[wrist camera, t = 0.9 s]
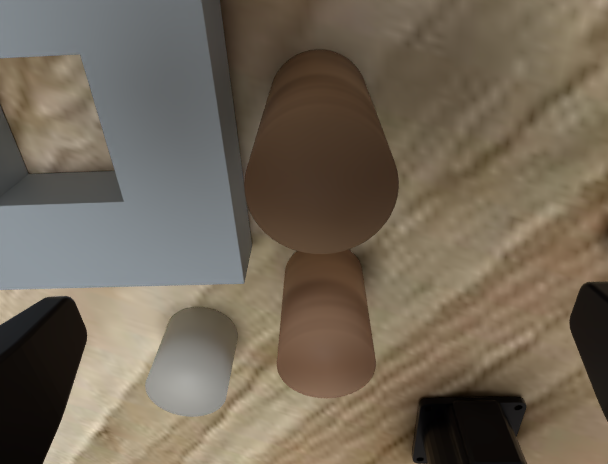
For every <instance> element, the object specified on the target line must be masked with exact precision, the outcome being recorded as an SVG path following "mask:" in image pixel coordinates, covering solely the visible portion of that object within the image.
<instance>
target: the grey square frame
mask: <svg viewBox="0 0 608 464" xmlns="http://www.w3.org/2000/svg"><path fill="white" fill-rule="evenodd" d="M77 54H80V56H81V59H82V62H83V66H84V69H85V72H86V76H87V79H88V82H89V86H90V89H91V93H92V96H93V99H94V103H95V106H96V109H97V113H98V116H99V119H100V123H101V126H102V130H103V133H104V136H105V140H106V143H107V146H108V150H109V153H110V156H111V160H112V163H113V166H114V170H115V171H99V172H71V173H44V174H28V172H27V169H26V167H25V164H24V162H23V159H22V157H21V155H20V152H19V150H18V147H17V145H16V142H15V140H14V138H13V135H12V133H11V130H10V128H9V125H8V123H7V121H6V118H5V116H4V113H3V111H2V108H1V106H0V290H12V289H51V288H90V287H129V286H168V285H207V284H244V282H245V277H246V272H247V268H248V263H249V258H250V253H251V248H252V241H251V233H250V226H249V218H248V210H247V203H246V197H245V189H244V180H243V173H242V165H241V157H240V150H239V142H238V135H237V127H236V119H235V112H234V104H233V97H232V89H231V81H230V74H229V66H228V59H227V51H226V44H225V36H224V28H223V21H222V13H221V6H220V0H0V58H13V57H34V56H56V55H77Z"/></svg>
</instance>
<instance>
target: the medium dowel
mask: <svg viewBox="0 0 608 464" xmlns="http://www.w3.org/2000/svg"><path fill="white" fill-rule="evenodd" d="M375 368H376V360H375V353H374V346H373V339H372V333H371V326H370V319H369V313H368V306H367V299H366V292H365V286H364V279H363V272H362V267H361V264H360V262H359V260H358V258H357V257H356V256H355V255H354V254H353V253H352V252H351V251H350V250H345V251H341V252H336V253H329V254H312V253H304V252H300V251H297V252H296V253H294V254H293V256H292V257H291V258H290V259H289V261H288V263H287V265H286V269H285V278H284V289H283V300H282V312H281V323H280V334H279V346H278V357H277V369H278V373H279V375H280V377H281V378H282V380H283V381H284V382H285V383H286V384H287V385H288V386H289V387H290V388H292V389H293V390H295V391H297V392H299V393H302V394H304V395H307V396H312V397H318V398H335V397H341V396H345V395H348V394H351V393H353V392H355V391H357V390H359V389H361V388H362V387H363V386H365V385H366V384H367V383H368V382H369V381H370V379H371V378H372V376H373V374H374V372H375Z"/></svg>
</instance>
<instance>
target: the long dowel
mask: <svg viewBox="0 0 608 464" xmlns="http://www.w3.org/2000/svg"><path fill="white" fill-rule="evenodd" d="M244 189H245V197H246V202H247V205H248V208H249V211H250V213H251V215H252V216H253V218H254V220H255V221H256V223H257V224H258V226H259V227H260V228H261V229H262V230H263V231H264V232H265V233H266V234H267V235H268V236H270V237H271V238H272V239H274V240H275V241H277V242H278V243H280V244H282V245H284V246H286V247H288V248H291V249H293V250H296V251H300V252H304V253H312V254H329V253H336V252H341V251H345V250H348V249H351V248H353V247H356V246H358V245H360V244H361V243H363V242H365V241H367V240H368V239H369V238H371V237H372V236H373V235H375V234H376V233H377V232H378V231H379V230H380V229H381V228H382V226H383V225H384V224H385V223H386V221H387V220H388V218H389V217H390V215H391V213H392V211H393V209H394V207H395V203H396V200H397V196H398V189H399V180H398V173H397V168H396V165H395V162H394V159H393V156H392V154H391V151H390V148H389V146H388V143H387V140H386V138H385V135H384V132H383V130H382V127H381V124H380V122H379V119H378V116H377V113H376V111H375V108H374V105H373V103H372V100H371V97H370V95H369V92H368V89H367V87H366V84H365V81H364V79H363V77H362V75H361V73H360V71H359V70H358V68H357V67H356V66H355V65H354V64H353V63H352V62H351V61H350V60H349V59H347V58H346V57H344V56H342V55H340V54H338V53H336V52H333V51H329V50H309V51H306V52H302V53H300V54H298V55H296V56H294V57H292V58H291V59H290V60H288V61H287V62H286V63H285V64H284V65H283V66H282V67H281V68H280V70H279V71H278V72H277V74H276V76H275V78H274V80H273V83H272V86H271V89H270V92H269V96H268V99H267V102H266V106H265V109H264V112H263V116H262V119H261V122H260V126H259V129H258V132H257V136H256V139H255V142H254V146H253V149H252V152H251V156H250V159H249V163H248V166H247V170H246V174H245V182H244Z"/></svg>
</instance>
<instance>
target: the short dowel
mask: <svg viewBox="0 0 608 464" xmlns="http://www.w3.org/2000/svg"><path fill="white" fill-rule="evenodd" d="M237 339H238V333H237V329H236V327H235V325H234V323H233V322H232V321H231V320H230V319H229V318H228V317H227V316H225V315H224V314H222V313H221V312H219V311H216V310H213V309H210V308H205V307H191V308H186V309H183V310H181V311H179V312H177V313H176V314H174V315H173V316H172V318H171V319H170V321H169V323H168V326H167V328H166V331H165V333H164V336H163V339H162V341H161V344H160V346H159V349H158V352H157V354H156V357H155V359H154V362H153V365H152V367H151V370H150V372H149V375H148V378H147V380H146V385H145V387H146V392H147V394H148V396H149V398H150V399H151V400H152V401H153V402H154V403H155V404H156V405H157V406H159V407H160V408H162V409H164V410H166V411H168V412H171V413H173V414H177V415H182V416H203V415H207V414H210V413H213V412H215V411H216V410H218V409H219V408H220V407H221V406H222V405H223V404H224V402H225V400H226V395H227V390H228V385H229V380H230V375H231V370H232V365H233V359H234V354H235V349H236V344H237Z"/></svg>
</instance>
